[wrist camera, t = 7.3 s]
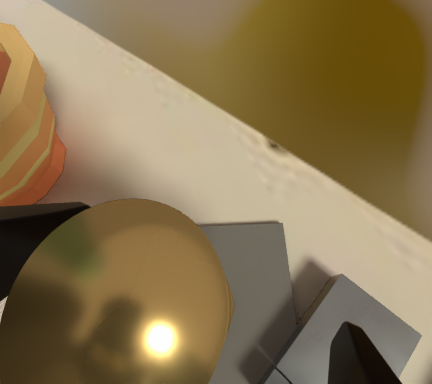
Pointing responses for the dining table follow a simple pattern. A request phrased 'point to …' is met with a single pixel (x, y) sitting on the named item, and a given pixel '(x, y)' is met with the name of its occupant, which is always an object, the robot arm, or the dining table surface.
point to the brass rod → (118, 301)
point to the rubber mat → (253, 299)
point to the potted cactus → (25, 125)
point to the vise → (327, 328)
